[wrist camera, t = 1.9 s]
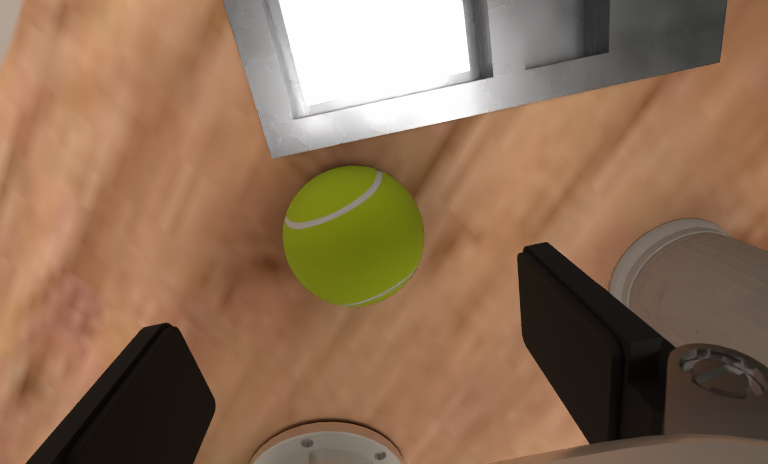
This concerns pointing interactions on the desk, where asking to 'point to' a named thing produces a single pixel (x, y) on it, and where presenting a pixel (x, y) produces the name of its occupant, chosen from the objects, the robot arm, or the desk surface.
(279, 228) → the desk surface
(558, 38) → the tray
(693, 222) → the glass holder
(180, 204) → the desk surface
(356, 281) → the tennis ball
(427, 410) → the desk surface
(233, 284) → the desk surface
